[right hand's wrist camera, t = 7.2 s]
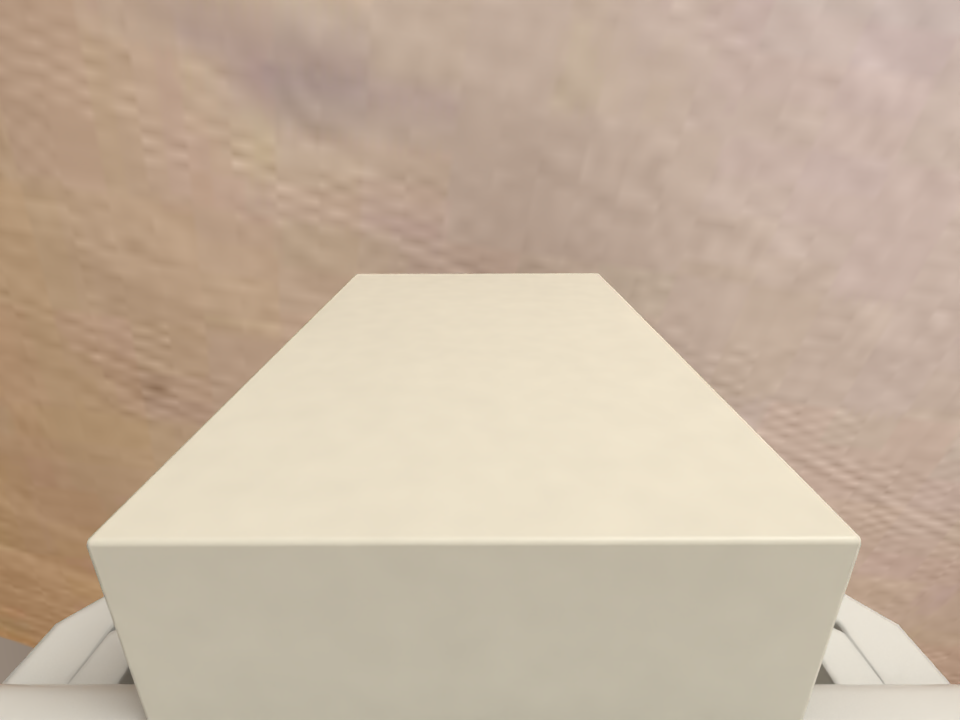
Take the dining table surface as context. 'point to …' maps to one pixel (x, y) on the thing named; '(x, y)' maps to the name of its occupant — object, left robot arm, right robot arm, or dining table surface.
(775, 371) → the dining table surface
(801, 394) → the dining table surface
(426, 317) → the box
